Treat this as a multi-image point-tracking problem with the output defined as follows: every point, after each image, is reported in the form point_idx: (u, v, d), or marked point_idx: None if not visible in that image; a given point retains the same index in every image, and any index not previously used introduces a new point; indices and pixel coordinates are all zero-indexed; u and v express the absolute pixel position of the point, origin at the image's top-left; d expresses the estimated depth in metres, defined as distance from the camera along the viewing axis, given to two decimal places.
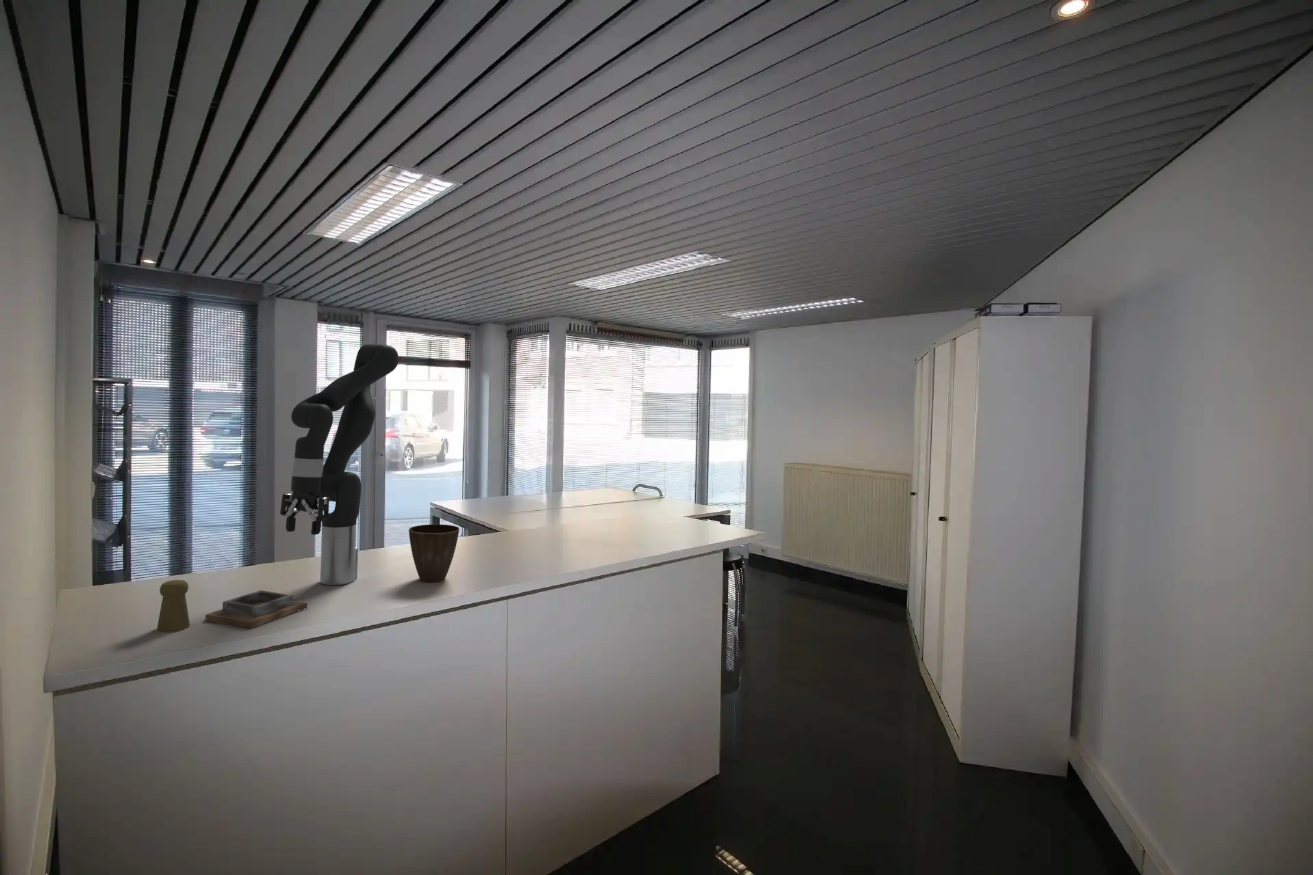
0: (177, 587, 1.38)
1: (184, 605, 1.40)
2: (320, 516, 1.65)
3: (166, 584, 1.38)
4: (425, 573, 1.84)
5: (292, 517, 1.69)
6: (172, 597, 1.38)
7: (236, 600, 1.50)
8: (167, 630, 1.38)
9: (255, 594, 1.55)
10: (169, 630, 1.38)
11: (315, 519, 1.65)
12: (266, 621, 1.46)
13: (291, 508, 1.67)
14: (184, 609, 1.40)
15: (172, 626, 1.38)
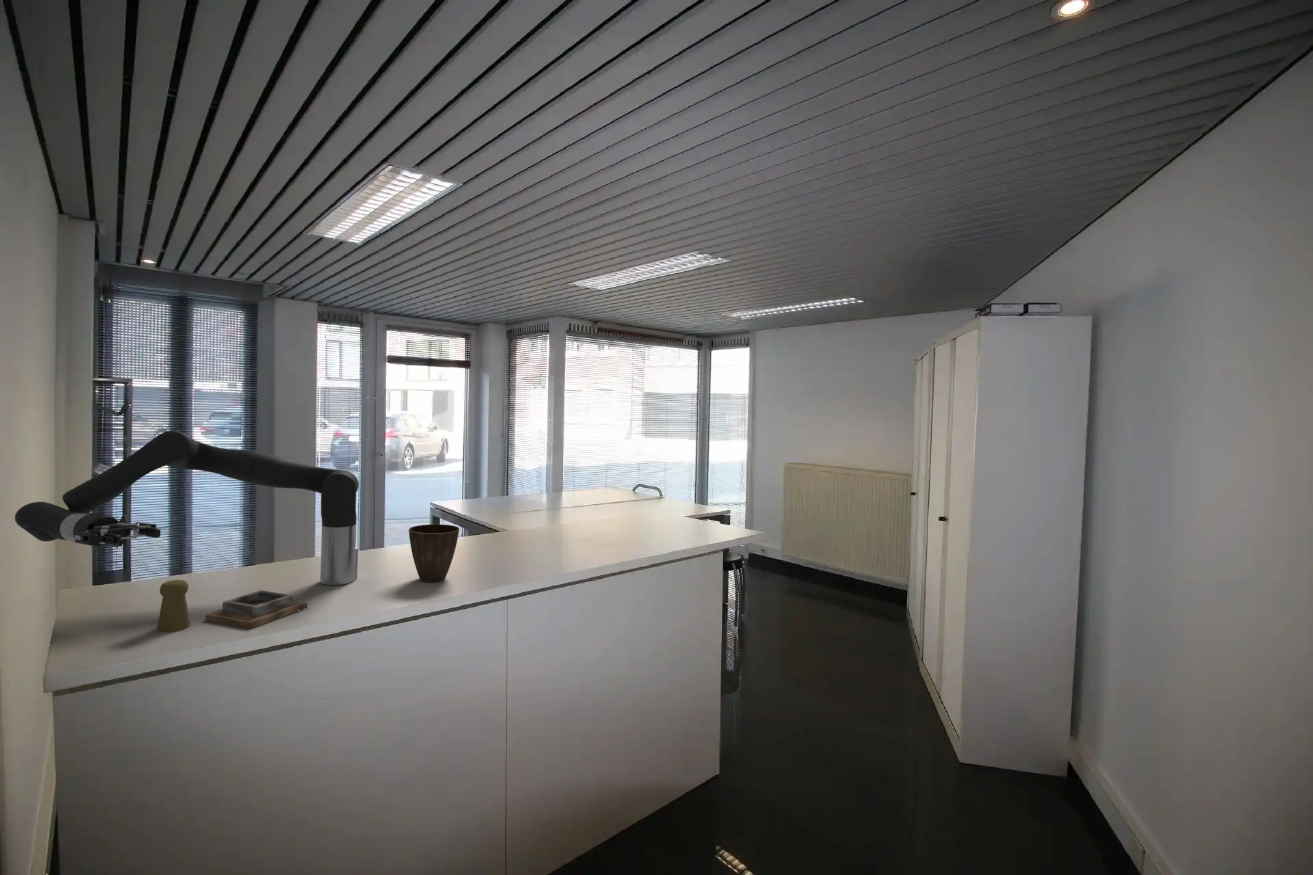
0: (177, 587, 1.38)
1: (184, 605, 1.40)
2: None
3: (166, 584, 1.38)
4: (425, 573, 1.84)
5: (145, 531, 1.47)
6: (172, 597, 1.38)
7: (236, 600, 1.50)
8: (167, 630, 1.38)
9: (255, 594, 1.55)
10: (169, 630, 1.38)
11: (101, 543, 1.39)
12: (266, 621, 1.46)
13: None
14: (184, 609, 1.40)
15: (172, 626, 1.38)
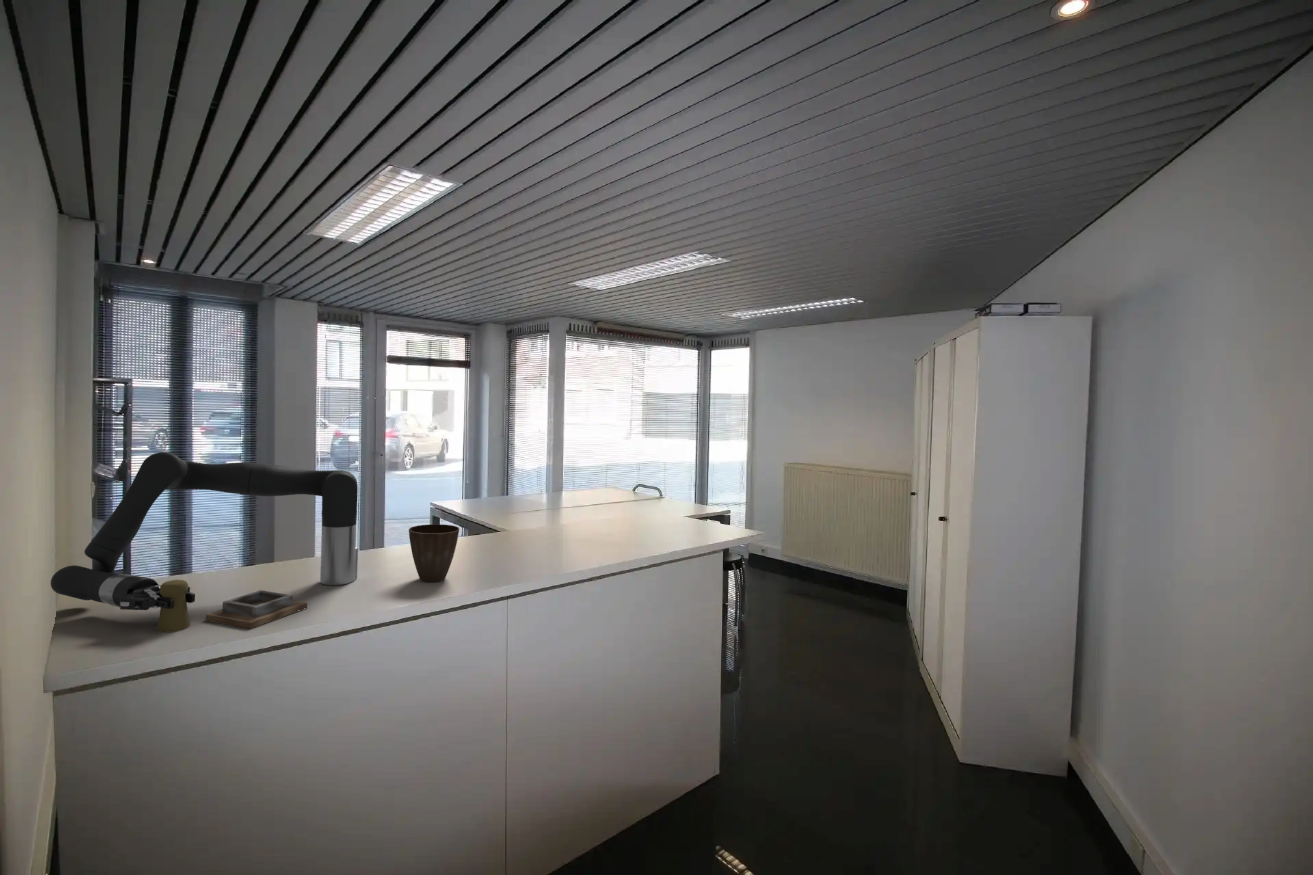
0: (177, 587, 1.38)
1: (184, 605, 1.40)
2: None
3: (166, 584, 1.38)
4: (425, 573, 1.84)
5: None
6: (172, 597, 1.38)
7: (236, 600, 1.50)
8: (167, 630, 1.38)
9: (255, 594, 1.55)
10: (169, 630, 1.38)
11: (154, 607, 1.38)
12: (266, 621, 1.46)
13: None
14: (184, 608, 1.40)
15: (172, 626, 1.38)
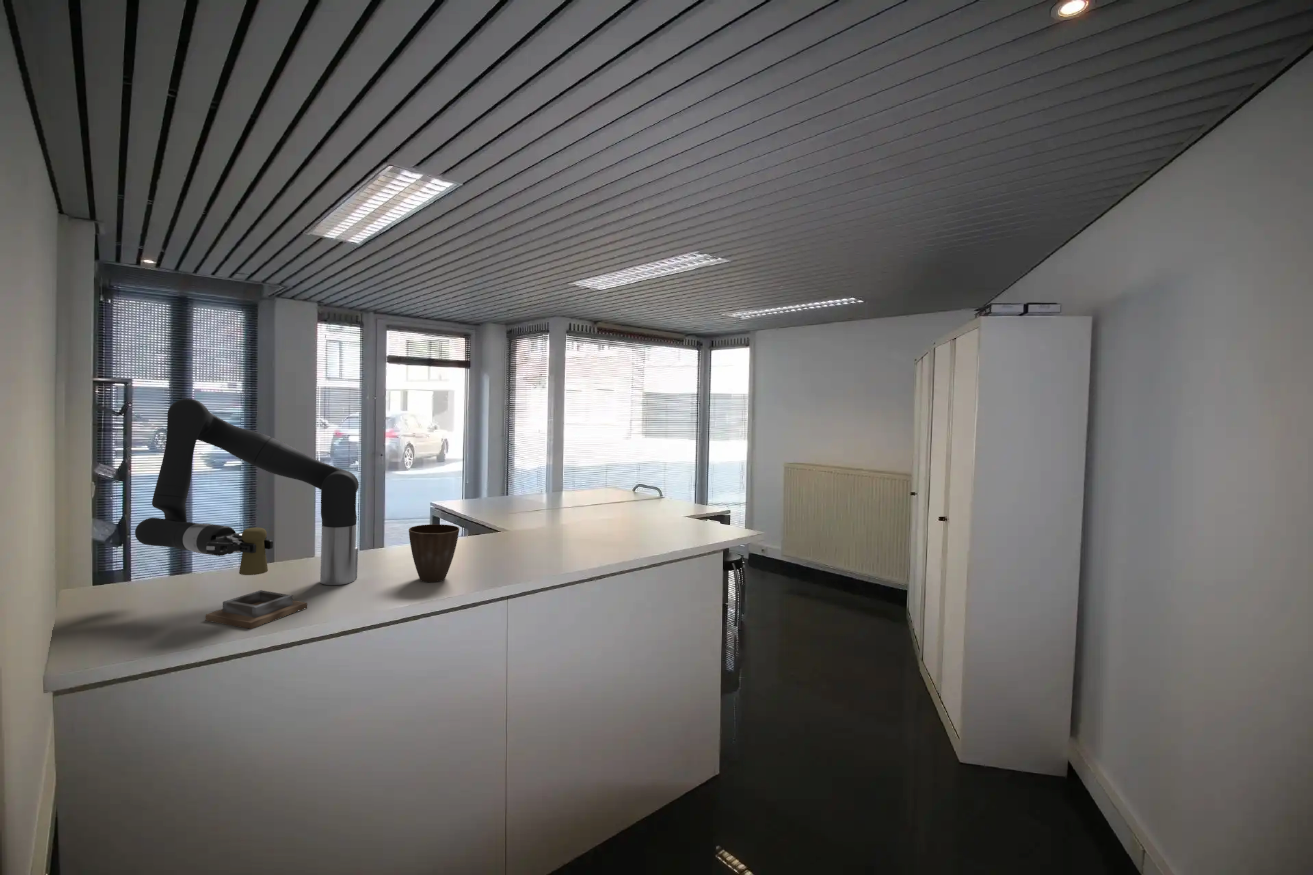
0: (258, 533, 1.48)
1: (263, 551, 1.50)
2: None
3: (248, 530, 1.48)
4: (425, 573, 1.84)
5: None
6: (253, 542, 1.48)
7: (236, 600, 1.50)
8: (249, 573, 1.47)
9: (255, 594, 1.55)
10: (251, 573, 1.47)
11: (237, 552, 1.47)
12: (266, 621, 1.46)
13: None
14: (264, 554, 1.50)
15: (253, 569, 1.48)
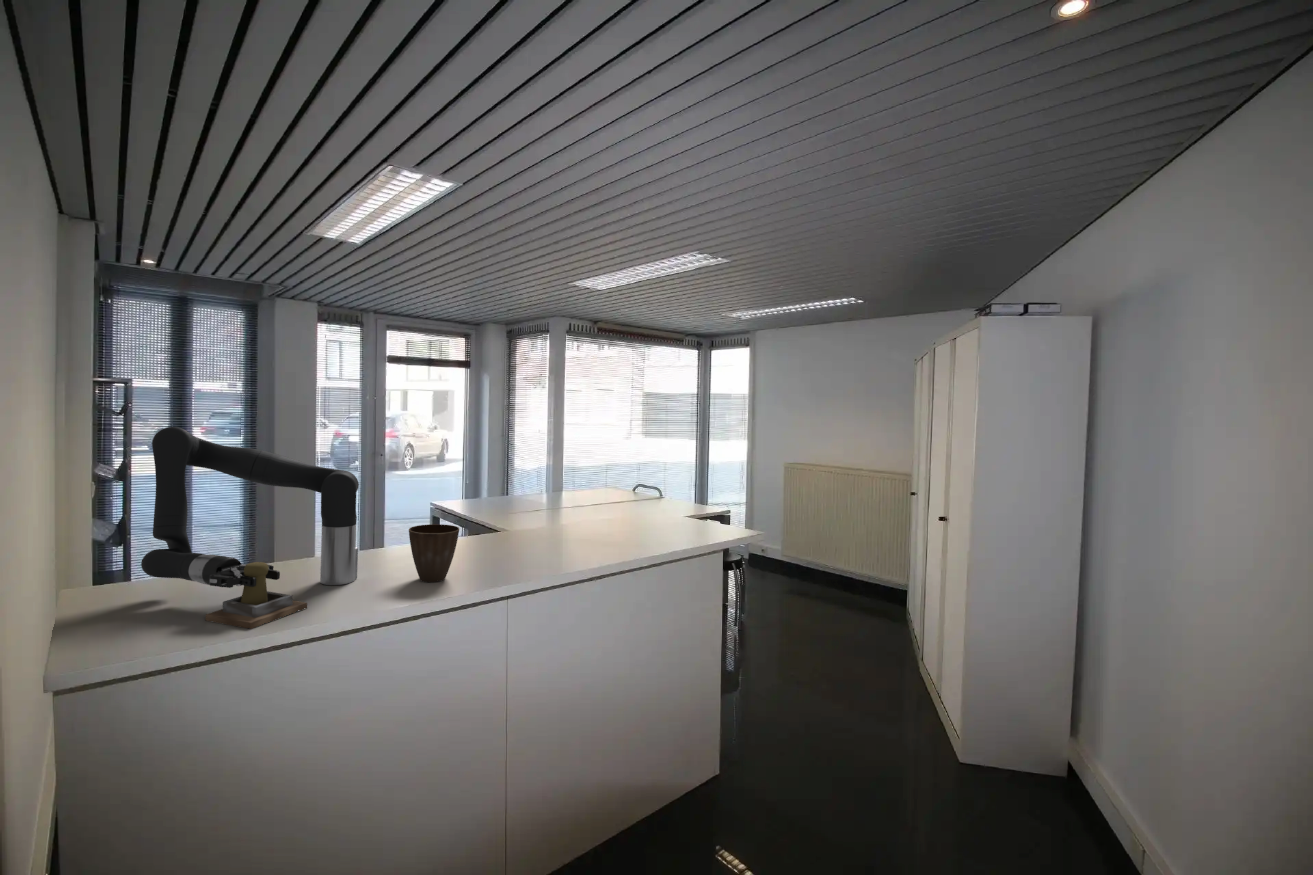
0: (260, 568, 1.49)
1: (264, 585, 1.51)
2: None
3: (250, 565, 1.49)
4: (425, 573, 1.84)
5: None
6: (255, 577, 1.49)
7: (236, 600, 1.50)
8: None
9: None
10: None
11: (237, 585, 1.48)
12: (266, 621, 1.46)
13: None
14: (265, 589, 1.51)
15: (254, 604, 1.48)
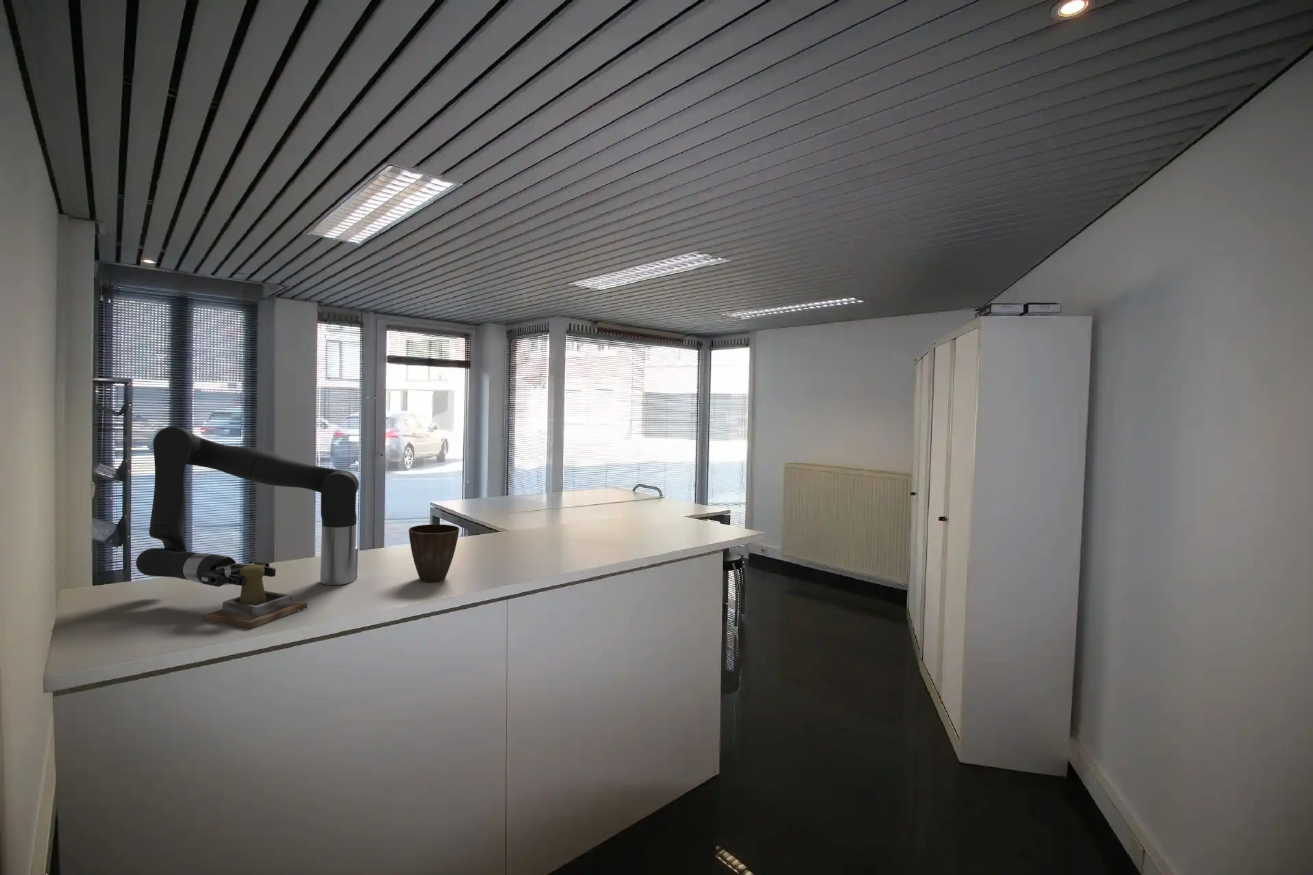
0: (256, 571, 1.49)
1: (262, 587, 1.51)
2: None
3: (246, 569, 1.48)
4: (425, 573, 1.84)
5: None
6: (252, 580, 1.48)
7: (236, 600, 1.50)
8: None
9: None
10: None
11: (226, 584, 1.47)
12: (266, 621, 1.46)
13: None
14: (263, 591, 1.51)
15: None
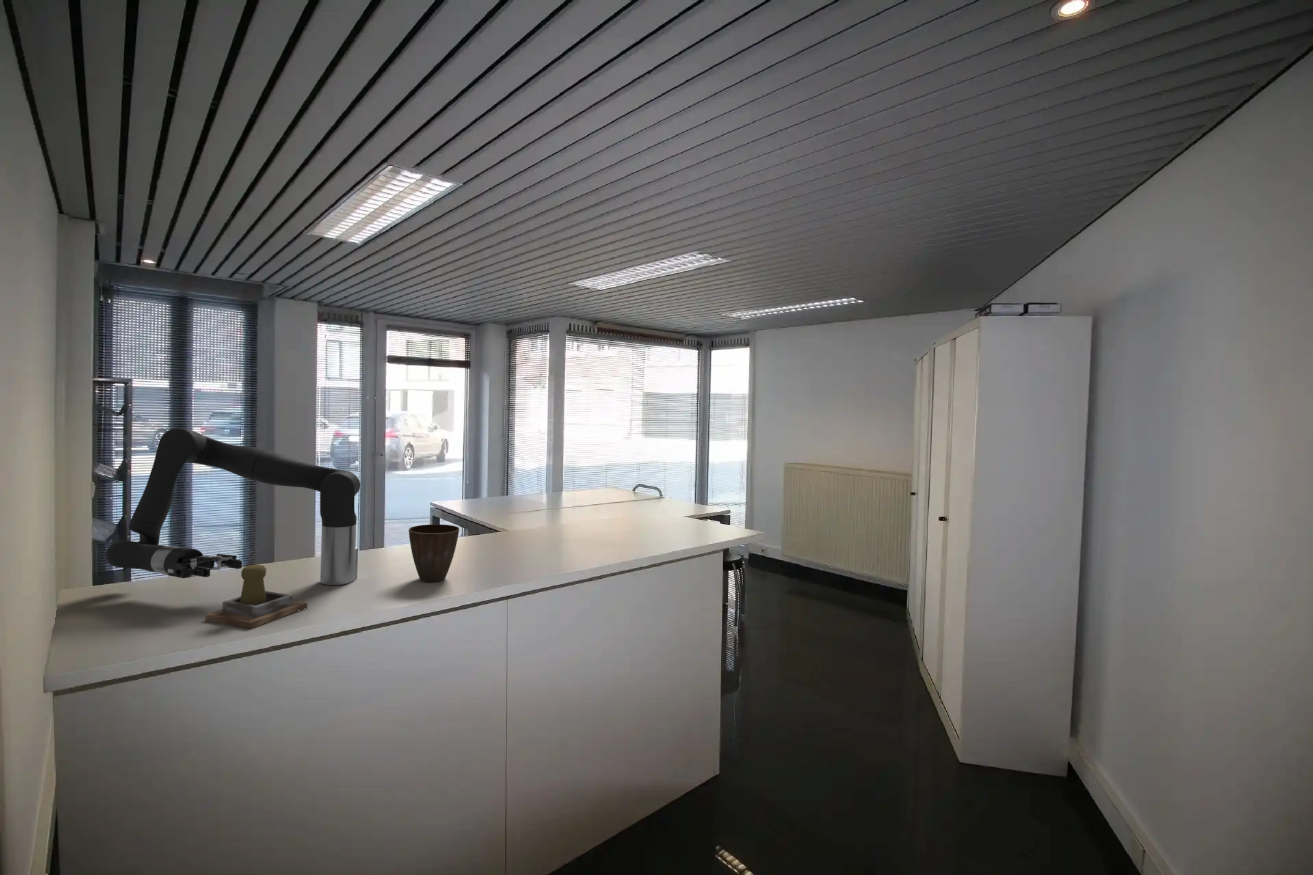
0: (258, 571, 1.49)
1: (263, 588, 1.51)
2: None
3: (248, 568, 1.48)
4: (425, 573, 1.84)
5: (228, 563, 1.59)
6: (254, 580, 1.49)
7: (236, 600, 1.50)
8: None
9: None
10: None
11: (192, 576, 1.50)
12: (266, 621, 1.46)
13: None
14: (263, 591, 1.51)
15: None
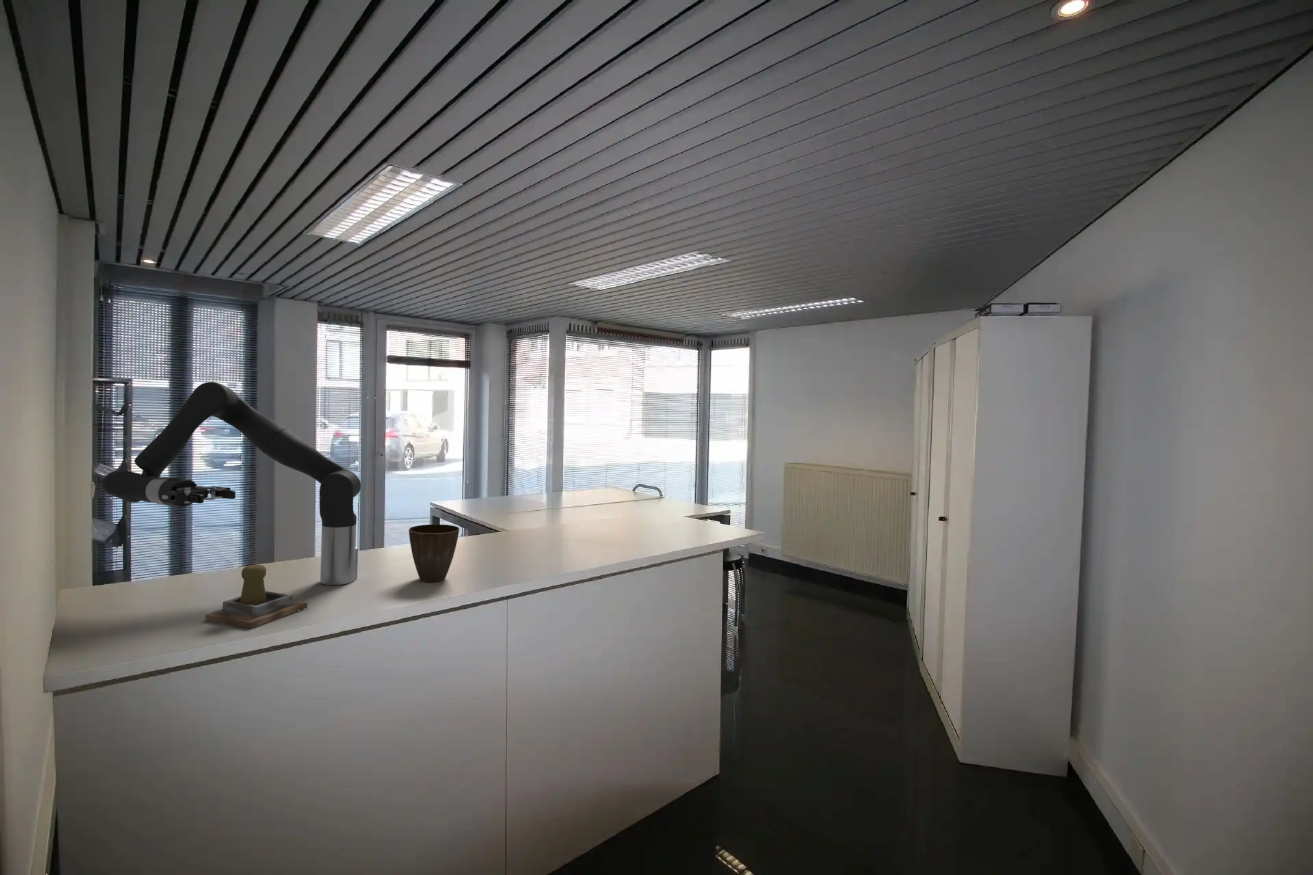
0: (258, 571, 1.49)
1: (263, 588, 1.51)
2: None
3: (248, 568, 1.48)
4: (425, 573, 1.84)
5: (222, 493, 1.61)
6: (254, 580, 1.49)
7: (236, 600, 1.50)
8: None
9: None
10: None
11: (186, 502, 1.53)
12: (266, 621, 1.46)
13: (209, 499, 1.61)
14: (263, 591, 1.51)
15: None
